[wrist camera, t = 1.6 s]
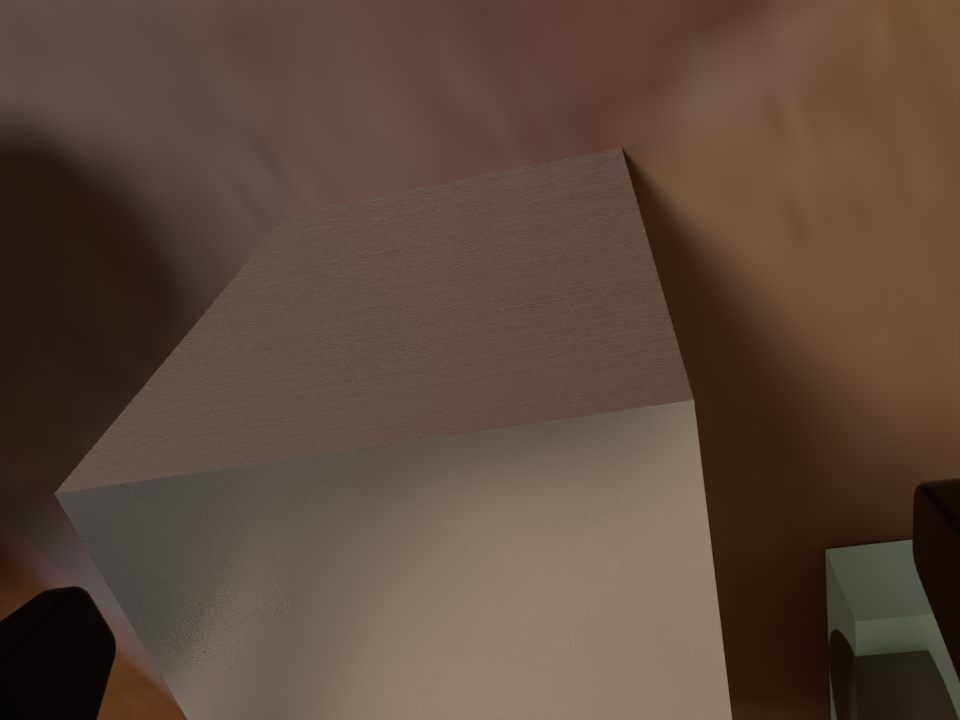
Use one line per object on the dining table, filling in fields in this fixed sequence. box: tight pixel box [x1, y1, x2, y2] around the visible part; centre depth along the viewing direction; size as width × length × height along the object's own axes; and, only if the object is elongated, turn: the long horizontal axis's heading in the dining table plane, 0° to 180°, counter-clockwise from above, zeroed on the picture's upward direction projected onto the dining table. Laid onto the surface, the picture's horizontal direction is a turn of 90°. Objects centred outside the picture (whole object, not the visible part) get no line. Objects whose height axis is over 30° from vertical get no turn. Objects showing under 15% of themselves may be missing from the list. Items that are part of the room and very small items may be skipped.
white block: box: [54, 148, 732, 720], centre depth 9 cm, size 6×4×6 cm
